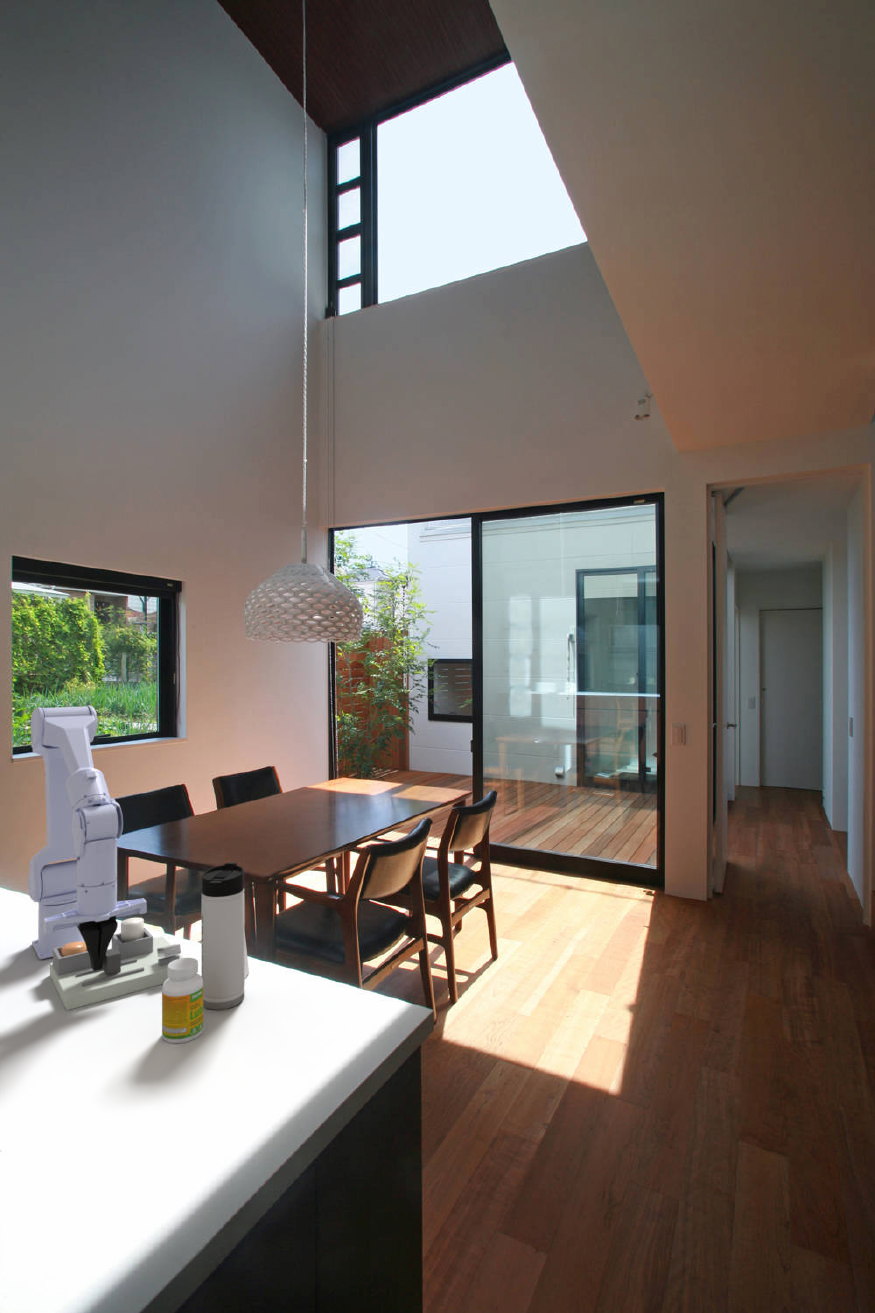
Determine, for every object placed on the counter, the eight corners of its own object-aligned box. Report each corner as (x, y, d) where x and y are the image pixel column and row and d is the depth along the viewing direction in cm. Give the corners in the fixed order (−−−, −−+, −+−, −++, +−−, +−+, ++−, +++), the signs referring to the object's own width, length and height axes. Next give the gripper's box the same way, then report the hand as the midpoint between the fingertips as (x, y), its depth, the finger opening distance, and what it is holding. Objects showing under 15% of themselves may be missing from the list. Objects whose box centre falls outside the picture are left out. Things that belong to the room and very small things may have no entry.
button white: (118, 938, 118) (118, 920, 118) (140, 933, 120) (140, 916, 120) (123, 944, 115) (123, 927, 115) (146, 939, 117) (146, 922, 117)
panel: (49, 975, 113) (49, 947, 113) (162, 947, 124) (162, 922, 124) (66, 1010, 101) (66, 979, 101) (189, 976, 112) (189, 948, 112)
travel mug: (251, 990, 107) (251, 862, 107) (234, 1011, 100) (234, 875, 101) (213, 989, 108) (213, 862, 108) (194, 1009, 101) (194, 874, 101)
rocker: (157, 957, 113) (157, 948, 114) (173, 953, 115) (173, 944, 115) (164, 957, 110) (163, 948, 111) (181, 953, 112) (180, 944, 112)
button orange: (59, 963, 112) (59, 945, 112) (84, 957, 115) (84, 939, 115) (63, 971, 110) (63, 952, 110) (88, 964, 112) (88, 946, 112)
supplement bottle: (194, 1044, 92) (194, 972, 92) (155, 1044, 92) (155, 972, 92) (209, 1024, 97) (209, 955, 97) (171, 1023, 97) (171, 955, 97)
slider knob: (103, 969, 110) (103, 951, 110) (116, 966, 111) (116, 947, 111) (107, 975, 107) (107, 956, 107) (120, 972, 109) (120, 953, 109)
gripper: (49, 897, 100) (48, 990, 100) (152, 878, 109) (151, 963, 109) (41, 886, 106) (41, 973, 106) (140, 868, 115) (140, 949, 115)
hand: (96, 967), depth 108 cm, fingers closed
